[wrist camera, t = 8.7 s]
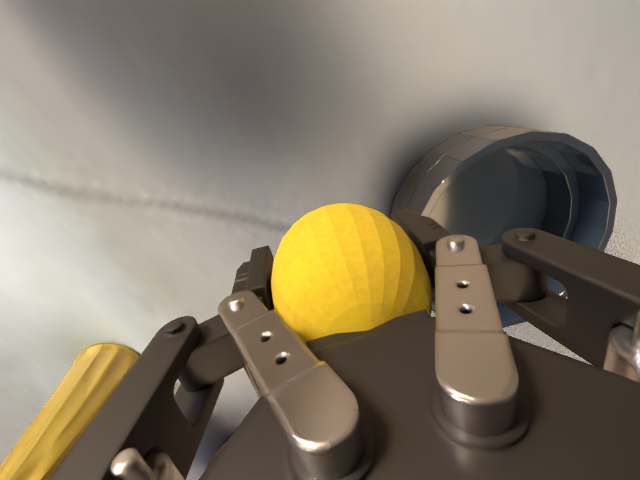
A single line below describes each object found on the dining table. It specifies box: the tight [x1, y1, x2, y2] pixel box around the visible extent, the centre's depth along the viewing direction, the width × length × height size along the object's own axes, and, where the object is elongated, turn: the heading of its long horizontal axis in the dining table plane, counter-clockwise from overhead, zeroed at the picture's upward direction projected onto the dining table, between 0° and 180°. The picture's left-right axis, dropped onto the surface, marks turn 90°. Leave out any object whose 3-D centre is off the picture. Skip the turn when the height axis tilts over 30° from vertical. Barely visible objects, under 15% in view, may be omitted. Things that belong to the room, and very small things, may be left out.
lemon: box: [271, 203, 432, 345], centre depth 12 cm, size 6×6×8 cm
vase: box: [0, 344, 140, 480], centre depth 24 cm, size 6×6×14 cm
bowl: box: [390, 125, 617, 328], centre depth 26 cm, size 15×15×6 cm
